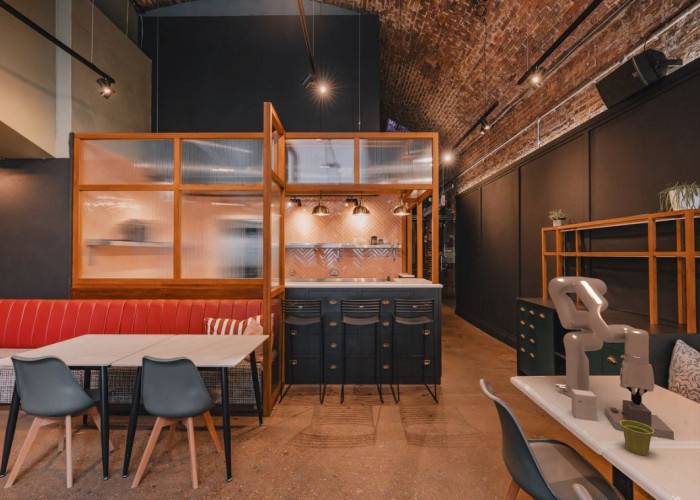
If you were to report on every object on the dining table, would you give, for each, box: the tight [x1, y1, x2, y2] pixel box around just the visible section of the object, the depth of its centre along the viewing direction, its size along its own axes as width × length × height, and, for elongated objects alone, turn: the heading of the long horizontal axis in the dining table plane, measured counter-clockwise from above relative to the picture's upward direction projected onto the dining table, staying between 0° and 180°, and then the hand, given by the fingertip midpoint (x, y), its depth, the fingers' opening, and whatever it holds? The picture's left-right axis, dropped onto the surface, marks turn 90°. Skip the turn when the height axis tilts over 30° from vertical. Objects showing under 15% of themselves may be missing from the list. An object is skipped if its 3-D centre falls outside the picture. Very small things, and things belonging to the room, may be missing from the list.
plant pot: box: [620, 420, 654, 456], centre depth 119 cm, size 9×9×9 cm
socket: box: [603, 406, 675, 440], centre depth 135 cm, size 18×14×4 cm
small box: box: [571, 389, 598, 421], centre depth 143 cm, size 8×6×10 cm
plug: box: [622, 399, 652, 426], centre depth 135 cm, size 6×9×9 cm
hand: (636, 403), depth 136 cm, fingers closed
